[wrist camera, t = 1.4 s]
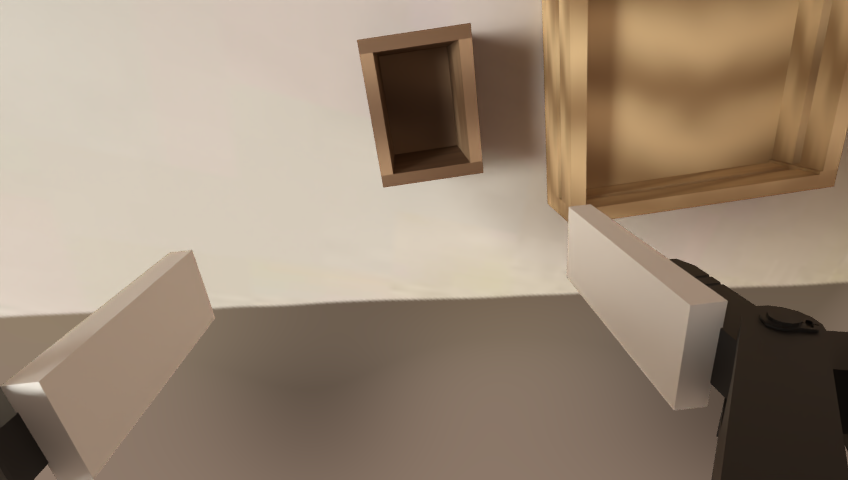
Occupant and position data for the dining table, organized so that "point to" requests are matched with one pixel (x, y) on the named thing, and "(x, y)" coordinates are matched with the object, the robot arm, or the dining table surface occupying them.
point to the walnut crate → (423, 104)
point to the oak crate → (691, 101)
